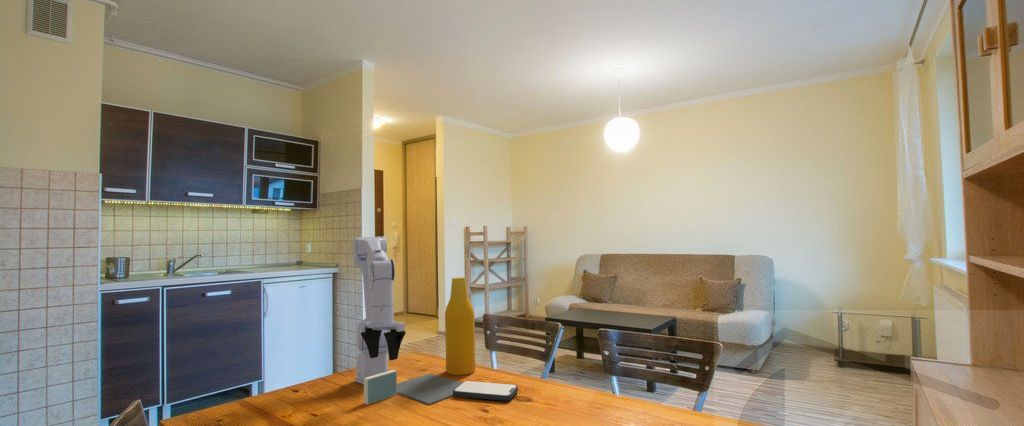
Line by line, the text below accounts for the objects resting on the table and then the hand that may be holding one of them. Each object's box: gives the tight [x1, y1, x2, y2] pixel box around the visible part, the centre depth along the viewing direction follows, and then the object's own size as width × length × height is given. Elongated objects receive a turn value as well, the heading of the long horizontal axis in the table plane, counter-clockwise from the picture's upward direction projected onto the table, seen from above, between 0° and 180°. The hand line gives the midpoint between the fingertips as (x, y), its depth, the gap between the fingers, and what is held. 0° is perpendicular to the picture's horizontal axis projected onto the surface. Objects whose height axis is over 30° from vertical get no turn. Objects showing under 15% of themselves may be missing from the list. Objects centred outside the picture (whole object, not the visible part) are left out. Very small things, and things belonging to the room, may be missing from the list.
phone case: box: [453, 380, 519, 402], centre depth 122 cm, size 9×2×16 cm
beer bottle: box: [444, 276, 477, 376], centre depth 144 cm, size 9×9×29 cm
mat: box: [397, 372, 463, 406], centre depth 128 cm, size 20×16×1 cm
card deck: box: [363, 369, 398, 405], centre depth 121 cm, size 2×9×6 cm, turn 138°
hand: (383, 358), depth 120 cm, fingers open, 7 cm apart
